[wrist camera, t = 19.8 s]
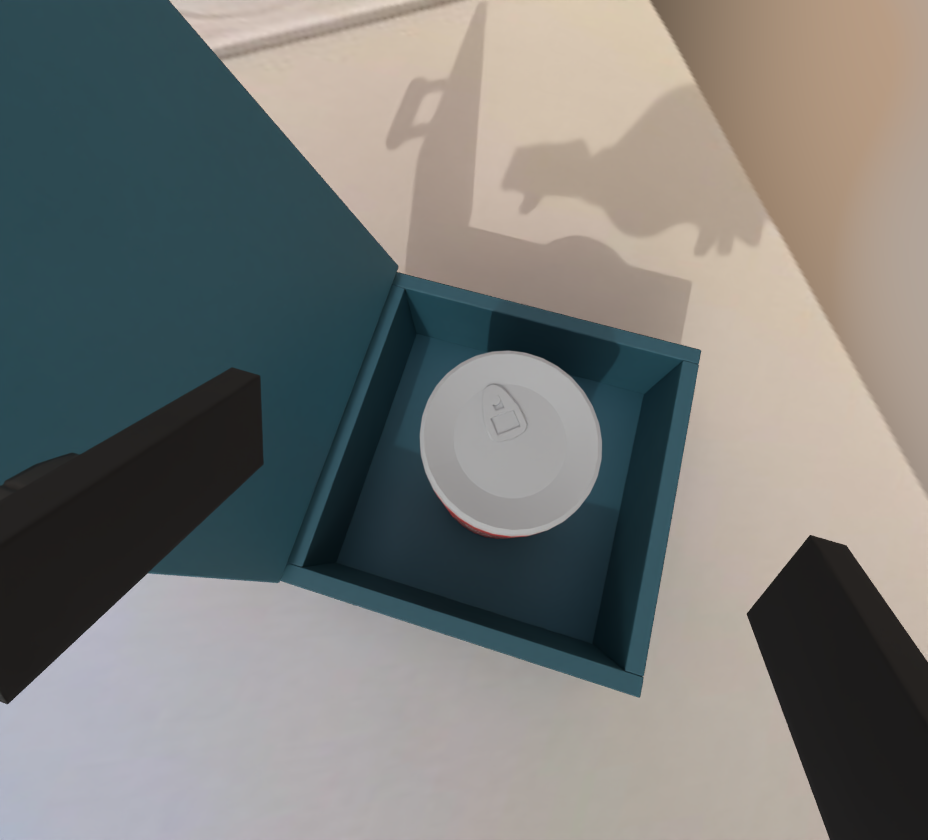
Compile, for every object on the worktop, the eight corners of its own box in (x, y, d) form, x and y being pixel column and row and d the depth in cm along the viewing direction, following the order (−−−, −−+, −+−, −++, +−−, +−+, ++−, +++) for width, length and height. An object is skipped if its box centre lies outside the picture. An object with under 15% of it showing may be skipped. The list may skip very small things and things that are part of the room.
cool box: (653, 390, 32) (702, 349, 25) (599, 661, 28) (640, 698, 21) (410, 325, 34) (395, 270, 27) (322, 572, 29) (278, 580, 23)
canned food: (505, 394, 31) (523, 316, 21) (582, 489, 29) (645, 458, 19) (412, 461, 30) (379, 415, 19) (486, 565, 28) (496, 577, 18)
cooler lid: (-33, -236, 11) (-87, -144, 13) (-740, 509, 6) (-635, 453, 9) (399, 266, 26) (340, 268, 29) (280, 583, 22) (221, 556, 24)
